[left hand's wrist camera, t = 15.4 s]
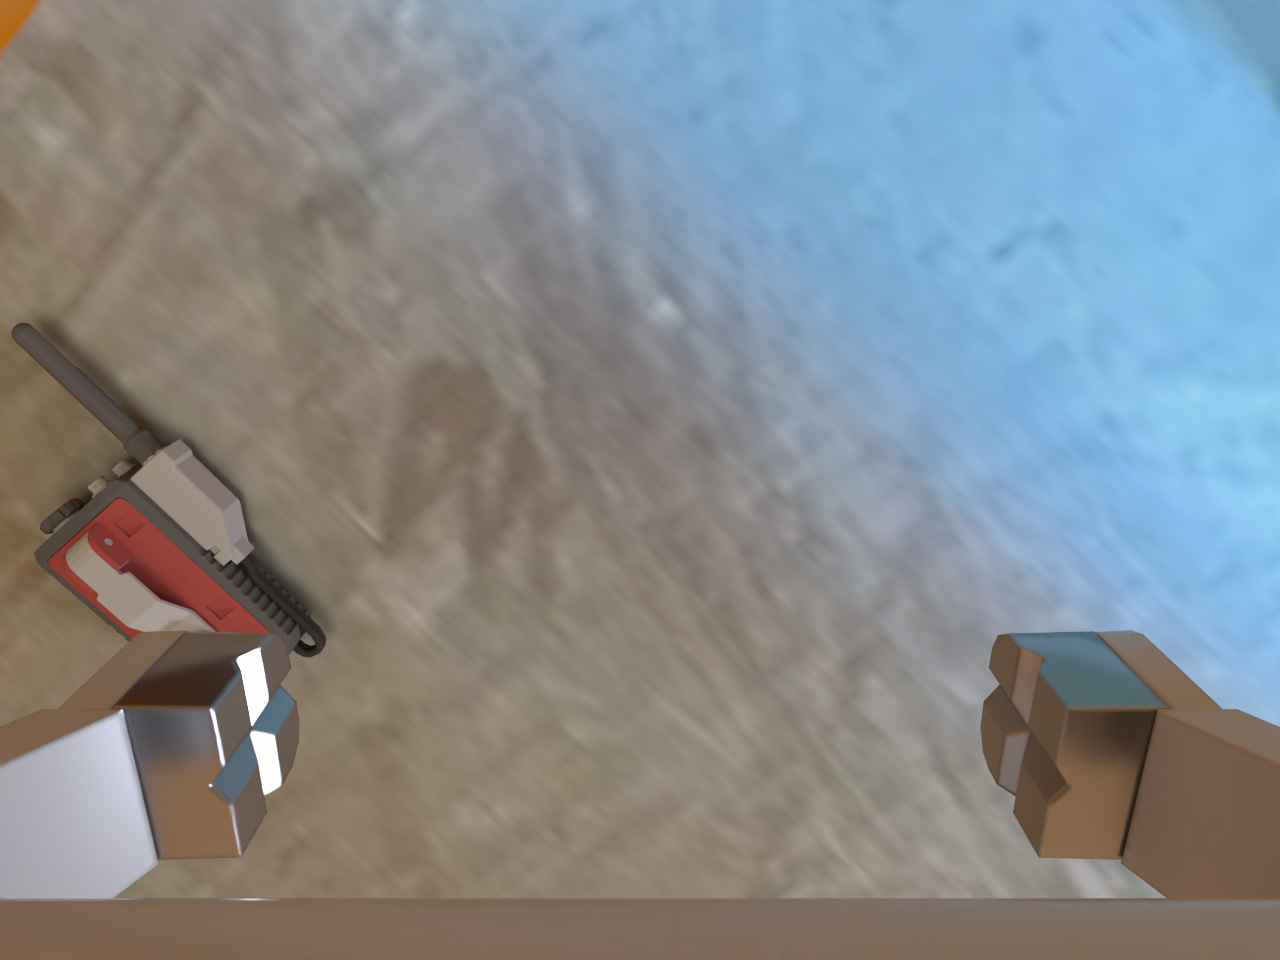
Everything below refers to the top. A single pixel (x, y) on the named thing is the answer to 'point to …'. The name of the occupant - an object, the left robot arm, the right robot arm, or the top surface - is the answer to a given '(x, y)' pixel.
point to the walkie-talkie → (159, 536)
